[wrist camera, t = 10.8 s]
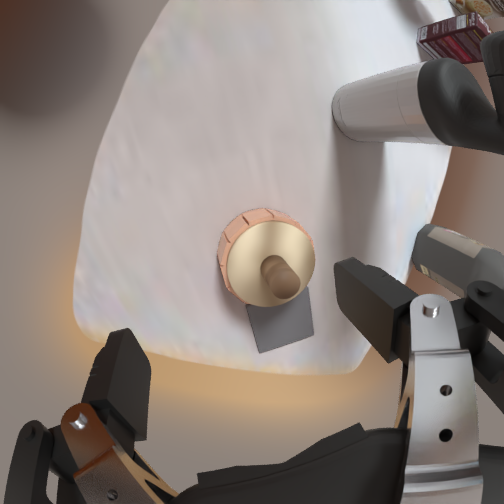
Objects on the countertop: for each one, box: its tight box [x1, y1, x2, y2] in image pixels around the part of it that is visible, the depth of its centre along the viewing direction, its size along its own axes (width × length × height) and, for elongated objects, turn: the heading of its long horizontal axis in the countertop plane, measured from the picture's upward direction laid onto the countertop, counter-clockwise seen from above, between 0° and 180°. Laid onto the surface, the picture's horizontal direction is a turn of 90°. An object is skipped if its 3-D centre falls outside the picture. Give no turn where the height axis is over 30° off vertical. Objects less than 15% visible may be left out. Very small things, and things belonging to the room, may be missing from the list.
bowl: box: [217, 208, 314, 304], centre depth 37 cm, size 12×12×5 cm
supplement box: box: [417, 11, 493, 64], centre depth 25 cm, size 9×5×16 cm, turn 70°
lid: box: [226, 220, 315, 307], centre depth 31 cm, size 11×11×6 cm
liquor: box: [412, 224, 504, 298], centre depth 32 cm, size 9×9×30 cm
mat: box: [246, 286, 314, 353], centre depth 44 cm, size 10×10×1 cm
